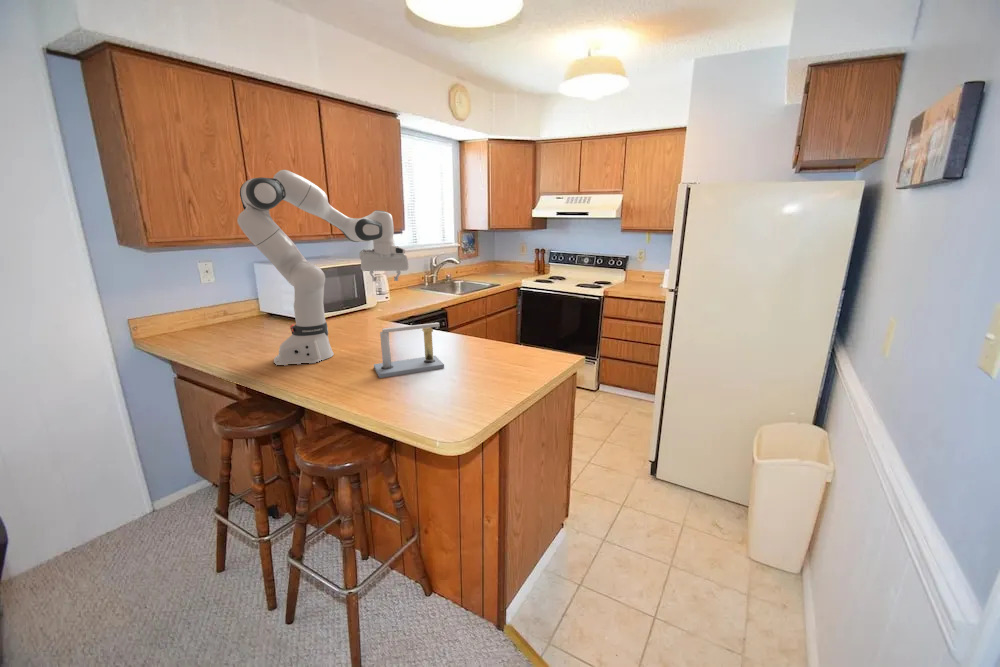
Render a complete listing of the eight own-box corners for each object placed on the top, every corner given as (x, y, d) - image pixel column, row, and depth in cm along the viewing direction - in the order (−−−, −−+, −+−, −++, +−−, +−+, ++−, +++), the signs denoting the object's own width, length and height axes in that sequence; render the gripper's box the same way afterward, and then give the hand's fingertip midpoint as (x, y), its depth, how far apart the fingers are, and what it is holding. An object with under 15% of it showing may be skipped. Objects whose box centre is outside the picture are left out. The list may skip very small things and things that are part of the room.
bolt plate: (379, 378, 152) (375, 334, 148) (374, 367, 163) (370, 326, 158) (445, 367, 162) (443, 326, 157) (436, 358, 172) (434, 319, 168)
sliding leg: (426, 361, 163) (424, 330, 159) (424, 359, 165) (422, 328, 162) (434, 360, 164) (432, 329, 161) (432, 358, 167) (430, 327, 163)
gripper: (360, 249, 180) (361, 282, 183) (408, 249, 188) (409, 281, 191) (358, 249, 185) (360, 281, 188) (405, 249, 193) (406, 279, 196)
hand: (385, 281), depth 190 cm, fingers open, 8 cm apart
